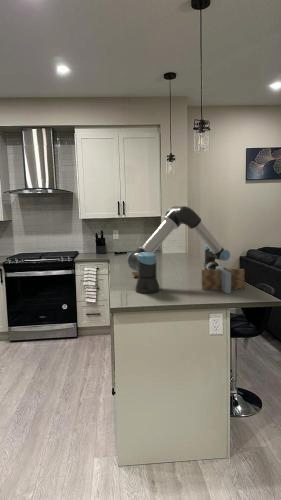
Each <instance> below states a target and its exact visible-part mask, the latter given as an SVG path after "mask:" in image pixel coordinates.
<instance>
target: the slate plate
mask: <svg viewBox="0 0 281 500" xmlns="http://www.w3.org/2000/svg"><path fill="white" fill-rule="evenodd" d="M224 268H225V267H222V266H219V265H218V266H216V269H219V270H220V280H221V289H222V290H223V291H224V292H225V293H224V292H223V291H222V290H221V289H220V290H221V291H222V292H223V293H224V294H226V293H231V294H232V289H231V273H230V272H228V271H227V270H225V269H224Z"/></svg>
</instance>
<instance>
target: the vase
mask: <svg viewBox="0 0 281 500" xmlns="http://www.w3.org/2000/svg"><path fill="white" fill-rule="evenodd" d="M130 270H131V274H132V276H133V277H136V278H138V271H136V270H133V269H132V268H130Z"/></svg>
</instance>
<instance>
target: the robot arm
mask: <svg viewBox="0 0 281 500" xmlns="http://www.w3.org/2000/svg"><path fill="white" fill-rule="evenodd" d="M181 225H184V226H187V227H188V229H190V230H193V232H194V233H195V234H196V235H197V237H198V238H199V239H200V240H201V241H202V242H203V244H204V262H203V270H213V269H216V266H219V265H218V264H216V260H220V261H228V260H229V259H230V258H231V252H230V251H229V250H228V249H225V248H224V247H223V246H222V245H221V244H220V242H218V240H217V239H216V238H215V236H214V235H213V234H212V233H211V231H209V229H208V228H207V227H206V226H205V224H204V223H203V222H202V218H201V217H200V216H199V214H197V213H196V212H195V211H194V210H193V209H192V208H190V207H189V206H185V205H183V206H177V205H176V206H172V207H170V208H168V209H167V210H166V212H165V216H164V217H163V222H161V224H160V225H159V226H158V227H157V229H156V230H155V231H154V232H153V233H152V234H151V235H150V237H149V238H148V239H147V240H146V241H145V242H144V244H143V245H142V246H138V247H137V248H136V249H135V250H134V251H132V252H130V253H129V254H128V255H127V257H126V264H127V265H128V267H129V268H130V269H131V268H132V269H133V270H136V271H138V277H137V281H136V284H135V286H134V288H135V290H134V292H137V293H139V294H155V293H159V292H160V289H161V288H160V285H159V281H158V276H157V271H158V270H157V264H158V263H157V255H156V253H155V252H156V250H157V249H158V248H159V247H160V246H161V245H162V243H163V242H164V241H165V240H166V239H167V238H168V236H169V235H170V234H171V233H172V232H173V231H174V230H177V229H178V228H179V227H180V226H181ZM223 268H224V269H225V270H226V269H227V268H226V267H223Z"/></svg>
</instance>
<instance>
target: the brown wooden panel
mask: <svg viewBox="0 0 281 500" xmlns="http://www.w3.org/2000/svg"><path fill="white" fill-rule="evenodd" d="M226 270H227V271H228V272H230V273H231V290H236V289H235V288H244V289H245V269H244V268H226ZM201 290H204V291H205V290H221V280H220V270H219V269H213V270H204V269H201Z"/></svg>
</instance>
